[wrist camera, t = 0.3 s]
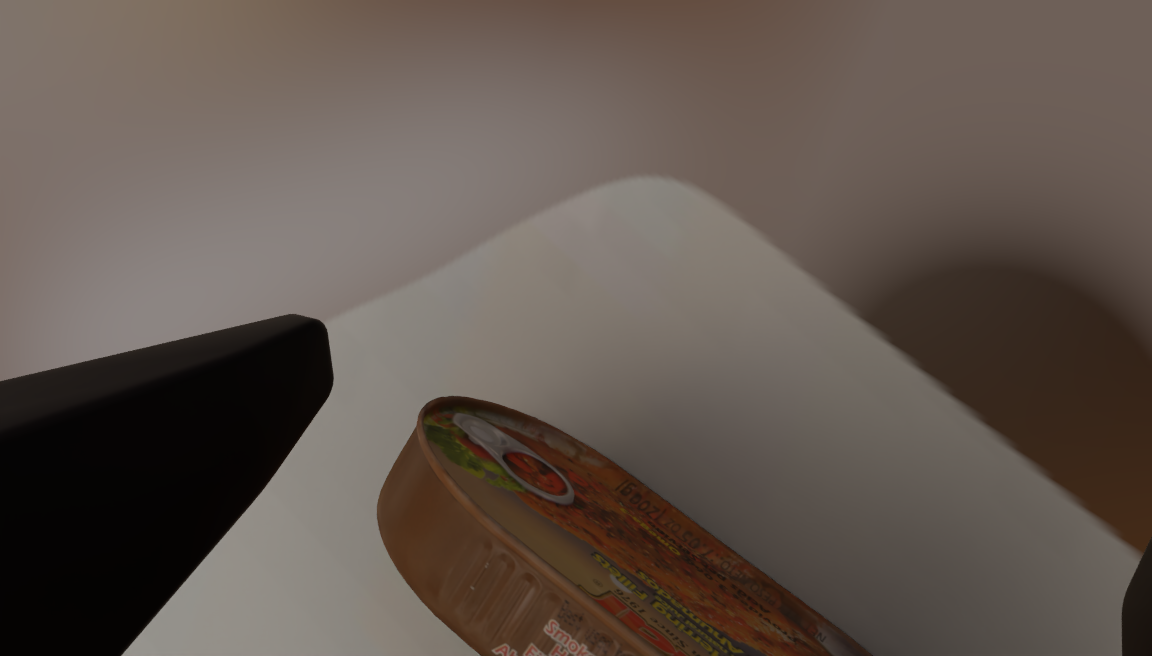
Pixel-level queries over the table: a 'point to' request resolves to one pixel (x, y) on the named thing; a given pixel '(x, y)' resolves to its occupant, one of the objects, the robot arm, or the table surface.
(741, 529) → the table surface
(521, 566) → the tin
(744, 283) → the table surface
